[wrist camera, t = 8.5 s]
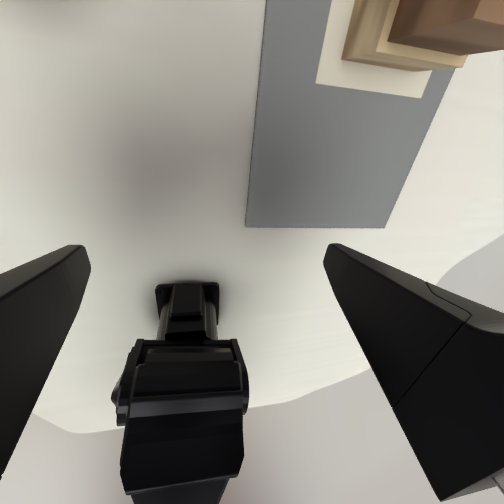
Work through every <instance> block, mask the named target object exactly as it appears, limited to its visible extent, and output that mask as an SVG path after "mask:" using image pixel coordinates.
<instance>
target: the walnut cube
mask: <svg viewBox="0 0 504 504" xmlns="http://www.w3.org/2000/svg"><path fill="white" fill-rule="evenodd" d="M387 42H392V43H397V44H402V45H407V46H412V47H418V48H423V49H428V50H433V51H438V52H443V53H448V54H454V55H459V56H462V55H469V54H476V53H483V52H490V51H497V50H504V0H400V1H399V4H398V7H397V11H396V14H395V17H394V20H393V24H392V27H391V30H390V33H389V37H388V40H387Z"/></svg>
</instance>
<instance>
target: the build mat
mask: <svg viewBox="0 0 504 504" xmlns="http://www.w3.org/2000/svg"><path fill="white" fill-rule="evenodd" d="M354 2H355V0H267V1H266V11H265V22H264V32H263V43H262V53H261V64H260V74H259V85H258V95H257V106H256V116H255V127H254V137H253V148H252V158H251V169H250V179H249V190H248V200H247V211H246V221H245V226H246V227H273V228H385V226H386V223H387V221H388V219H389V217H390V214H391V212H392V210H393V208H394V205H395V203H396V201H397V199H398V196H399V194H400V192H401V190H402V188H403V185H404V183H405V181H406V179H407V176H408V174H409V172H410V170H411V167H412V165H413V163H414V161H415V158H416V156H417V154H418V152H419V149H420V147H421V145H422V143H423V140H424V138H425V136H426V134H427V131H428V129H429V127H430V125H431V122H432V120H433V118H434V116H435V113H436V111H437V109H438V107H439V104H440V102H441V100H442V98H443V95H444V93H445V91H446V89H447V86H448V84H449V82H450V80H451V77H452V75H453V73H454V71H455V68H450V69H440V70H430V71H420V72H410V71H404V70H398V69H392V68H386V67H381V66H375V65H369V64H363V63H357V62H351V61H345V60H341V57H342V53H343V48H344V44H345V40H346V36H347V31H348V27H349V23H350V19H351V14H352V10H353V6H354Z"/></svg>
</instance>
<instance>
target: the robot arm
mask: <svg viewBox="0 0 504 504" xmlns="http://www.w3.org/2000/svg"><path fill="white" fill-rule="evenodd" d="M323 265H324V268H325V271H326V274H327V276H328V279H329V282H330V284H331V287H332V290H333V292H334V294H335V297H336V299H337V301H338V303H339V305H340V307H341V309H342V311H343V313H344V315H345V317H346V319H347V321H348V323H349V325H350V326H351V328H352V330H353V332H354V334H355V336H356V338H357V340H358V342H359V344H360V346H361V348H362V350H363V352H364V354H365V356H366V358H367V360H368V362H369V364H370V366H371V368H372V370H373V372H374V374H375V375H376V378H377V380H378V382H379V383H380V386H381V387H382V390H383V391H384V393H385V395H386V397H387V399H388V401H389V403H390V405H391V407H392V409H393V411H394V413H395V415H396V417H397V419H398V421H399V423H400V425H401V427H402V429H403V431H404V433H405V435H406V437H407V439H408V441H409V443H410V445H411V447H412V449H413V451H414V453H415V455H416V457H417V459H418V461H419V463H420V465H421V467H422V468H423V471H424V473H425V474H426V477H427V478H428V480H429V482H430V484H431V486H432V488H433V490H434V492H435V494H436V496H437V497H438V499H439V500H440V502H442V501H446V500H449V499H452V498H456V497H460V496H463V495H467V494H471V493H474V492H478V491H481V490H485V489H488V488H492V487H495V486H498V488H499V489H500V490H501V492H502V493H503V494H504V313H502V312H499V311H497V310H494V309H492V308H489V307H486V306H484V305H481V304H479V303H476V302H474V301H471V300H469V299H466V298H464V297H461V296H459V295H456V294H454V293H452V292H449V291H447V290H445V289H442V288H440V287H438V286H435V285H433V284H431V283H428V282H424V280H421V279H419V278H417V277H415V276H412V275H410V274H408V273H405V272H403V271H401V270H399V269H396V268H394V267H392V266H390V265H387V264H385V263H383V262H380V261H378V260H376V259H374V258H371V257H369V256H367V255H365V254H362V253H360V252H358V251H355V250H353V249H351V248H349V247H346V246H344V245H342V244H339V243H332V244H329V245H328V247H327V250H326V253H325V257H324V260H323ZM90 272H91V264H90V261H89V258H88V255H87V252H86V249H85V247H84V246H83V245H67V246H65V247H63V248H60V249H58V250H56V251H53V252H51V253H49V254H46V255H44V256H42V257H39V258H37V259H35V260H32V261H30V262H28V263H25V264H23V265H21V266H18V267H16V268H14V269H11V270H9V271H7V272H4V273H2V274H0V480H1V478H2V476H1V475H2V474H3V473H4V471H5V469H6V466H7V464H8V462H9V460H10V458H11V456H12V453H13V451H14V449H15V447H16V444H17V443H18V440H19V438H20V436H21V434H22V432H23V429H24V427H25V425H26V423H27V421H28V419H29V417H30V414H31V412H32V410H33V408H34V406H35V404H36V401H37V399H38V397H39V395H40V393H41V391H42V388H43V386H44V384H45V382H46V380H47V378H48V375H49V373H50V371H51V369H52V367H53V365H54V362H55V360H56V358H57V356H58V354H59V352H60V349H61V347H62V345H63V343H64V341H65V339H66V336H67V334H68V332H69V330H70V328H71V326H72V323H73V321H74V319H75V317H76V315H77V312H78V310H79V307H80V304H81V301H82V298H83V295H84V292H85V288H86V285H87V282H88V279H89V276H90ZM213 287H216V288H213ZM159 289H161V290H159ZM219 289H220V288H219V284H218V283H194V284H169V285H158V286H157V287H156V289H155V294H156V301H157V307H158V314H159V320H160V321H159V327H158V332H157V338H156V340H144V339H137V341H136V344H135V347H132V350H131V352H130V353H129V354H128V358H127V362H126V365H125V368H124V371H123V373H122V375H121V377H120V379H119V381H118V382H117V384H116V386H115V388H114V390H113V392H112V395H111V401H112V402H113V403H114V405H115V406H116V414H117V426H125V431H124V438H123V444H122V451H121V457H120V467H121V469H120V476H121V479H122V483H123V486H124V490H125V493H126V495H131V497H132V499H133V502H134V504H219V502H220V500H221V497H222V495H223V493H224V490H225V488H226V485H227V483H228V481H229V478H235V477H237V476H238V474H239V470H240V468H241V464H242V461H243V458H244V444H243V415H245V413H246V412H247V408H248V402H249V381H248V374H247V369H246V366H245V363H244V360H243V357H242V354H241V351H240V348H239V345H238V342H237V339H230V340H218V337H217V325H218V316H219Z"/></svg>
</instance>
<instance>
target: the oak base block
mask: <svg viewBox="0 0 504 504" xmlns="http://www.w3.org/2000/svg"><path fill="white" fill-rule="evenodd" d="M399 1H400V0H355V2H354V6H353V10H352V14H351V19H350V23H349V27H348V31H347V36H346V40H345V44H344V48H343V53H342V57H341V60H345V61H351V62H357V63H363V64H369V65H375V66H381V67H386V68H392V69H398V70H404V71H410V72H420V71H430V70H440V69H450V68H460V67H463V65H464V63H465V60H466V58H467V56H468V55H462V56H459V55H454V54H448V53H443V52H438V51H433V50H428V49H423V48H418V47H412V46H407V45H402V44H397V43H392V42H387V40H388V37H389V33H390V30H391V27H392V24H393V20H394V17H395V14H396V11H397V7H398V4H399Z"/></svg>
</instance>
